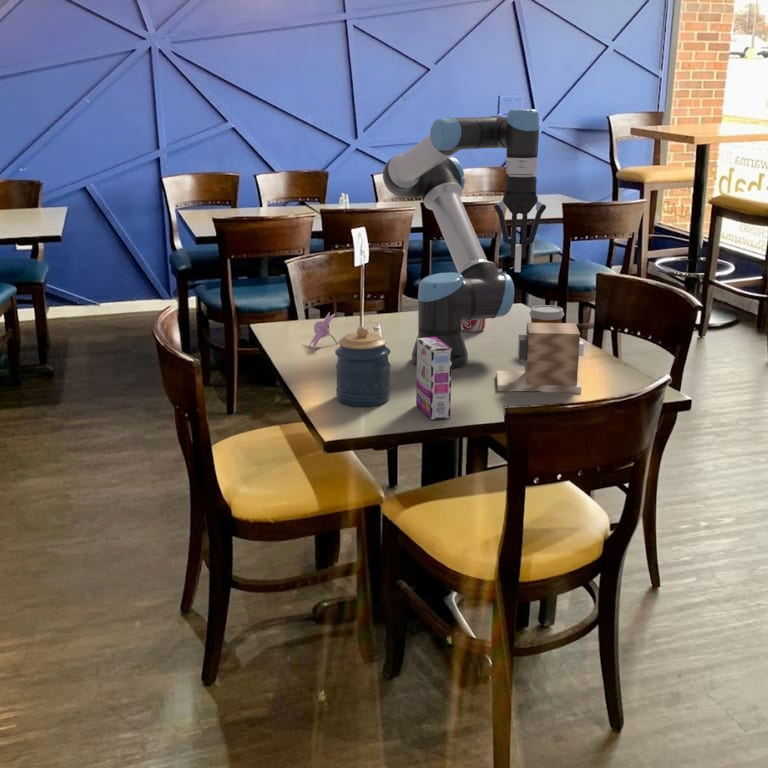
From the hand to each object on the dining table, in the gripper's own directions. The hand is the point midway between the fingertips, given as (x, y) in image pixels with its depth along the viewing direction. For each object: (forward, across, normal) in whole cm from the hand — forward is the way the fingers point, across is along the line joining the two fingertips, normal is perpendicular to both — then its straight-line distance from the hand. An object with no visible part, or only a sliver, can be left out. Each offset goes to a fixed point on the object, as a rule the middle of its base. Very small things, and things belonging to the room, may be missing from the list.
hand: (517, 270), depth 231 cm
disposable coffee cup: (+27, +8, +21) cm, 35 cm away
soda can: (+27, -13, +41) cm, 50 cm away
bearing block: (+26, +6, -10) cm, 29 cm away
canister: (+27, -35, -27) cm, 52 cm away
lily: (+27, -54, +18) cm, 63 cm away
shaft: (+19, +9, -10) cm, 24 cm away
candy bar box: (+27, -18, -34) cm, 47 cm away
